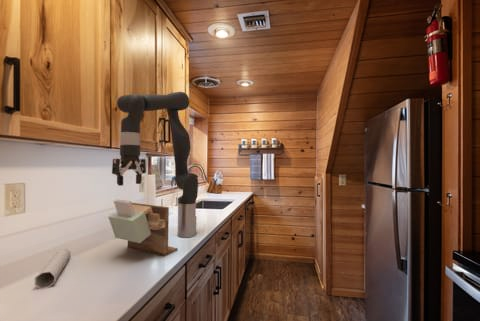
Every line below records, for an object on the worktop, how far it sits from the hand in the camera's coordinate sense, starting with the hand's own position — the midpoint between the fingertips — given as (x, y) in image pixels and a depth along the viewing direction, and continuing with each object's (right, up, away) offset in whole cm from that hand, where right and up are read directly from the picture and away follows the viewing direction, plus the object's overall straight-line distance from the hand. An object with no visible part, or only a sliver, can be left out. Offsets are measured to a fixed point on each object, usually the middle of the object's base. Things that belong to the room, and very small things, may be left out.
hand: (129, 184), depth 100 cm
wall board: (+4, -30, +8) cm, 31 cm away
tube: (-21, -30, -12) cm, 38 cm away
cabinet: (+2, -20, +4) cm, 21 cm away
